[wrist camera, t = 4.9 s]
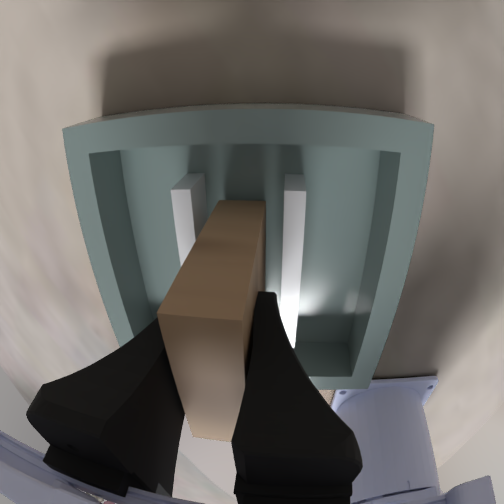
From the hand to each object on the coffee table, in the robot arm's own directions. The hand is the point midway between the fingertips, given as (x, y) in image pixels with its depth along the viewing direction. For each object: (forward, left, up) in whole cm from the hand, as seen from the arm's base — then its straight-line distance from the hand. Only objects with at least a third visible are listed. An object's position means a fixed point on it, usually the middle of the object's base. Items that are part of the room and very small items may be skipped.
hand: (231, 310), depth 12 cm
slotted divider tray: (0, 0, -5) cm, 5 cm away
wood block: (0, 0, -4) cm, 4 cm away
